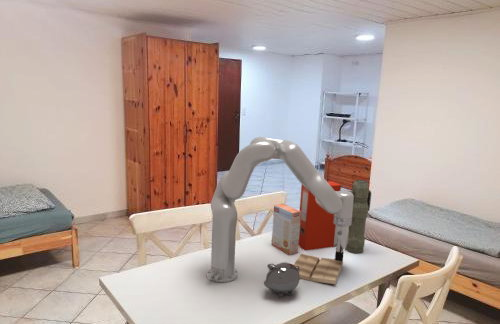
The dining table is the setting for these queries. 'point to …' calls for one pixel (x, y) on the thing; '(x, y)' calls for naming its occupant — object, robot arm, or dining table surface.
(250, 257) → the dining table surface
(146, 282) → the dining table surface
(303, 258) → the laid planks
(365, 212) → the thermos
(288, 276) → the piggy bank
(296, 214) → the cracker box
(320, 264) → the board
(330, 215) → the file binder
